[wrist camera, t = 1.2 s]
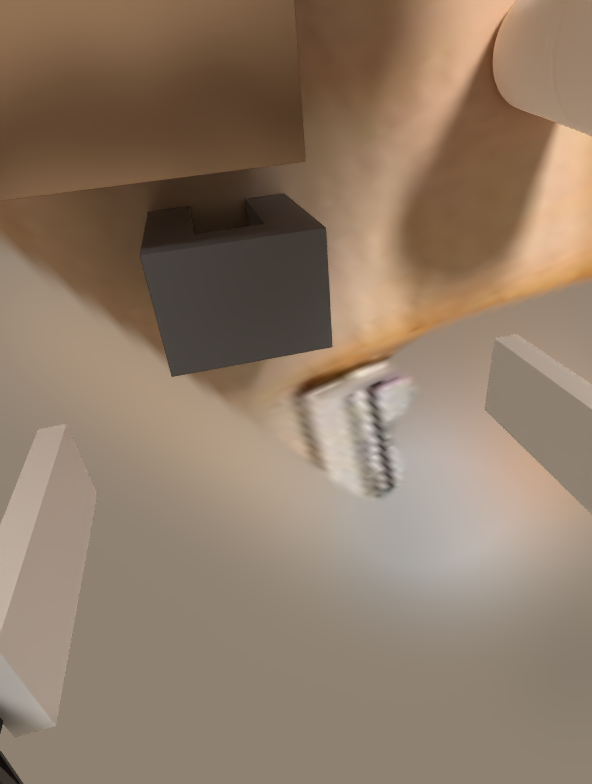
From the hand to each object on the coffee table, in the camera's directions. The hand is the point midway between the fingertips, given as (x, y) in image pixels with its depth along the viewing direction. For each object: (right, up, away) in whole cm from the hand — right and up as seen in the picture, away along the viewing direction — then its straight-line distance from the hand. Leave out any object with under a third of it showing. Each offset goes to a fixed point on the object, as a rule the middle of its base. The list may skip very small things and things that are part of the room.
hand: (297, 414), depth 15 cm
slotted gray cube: (-4, +10, +16) cm, 19 cm away
